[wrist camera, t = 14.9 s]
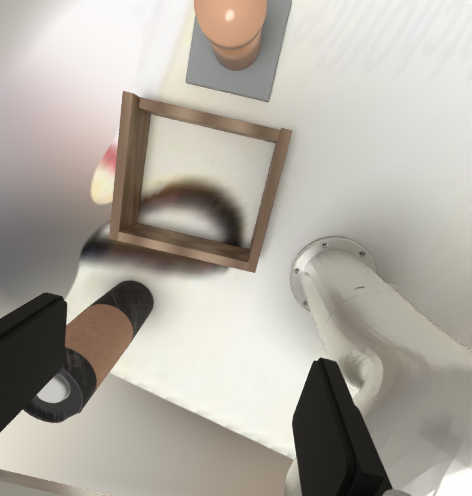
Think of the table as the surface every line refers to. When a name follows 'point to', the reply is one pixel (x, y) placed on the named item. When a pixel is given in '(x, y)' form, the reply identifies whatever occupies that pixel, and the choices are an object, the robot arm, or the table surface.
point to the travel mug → (92, 350)
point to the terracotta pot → (232, 29)
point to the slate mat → (252, 78)
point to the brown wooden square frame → (131, 178)
